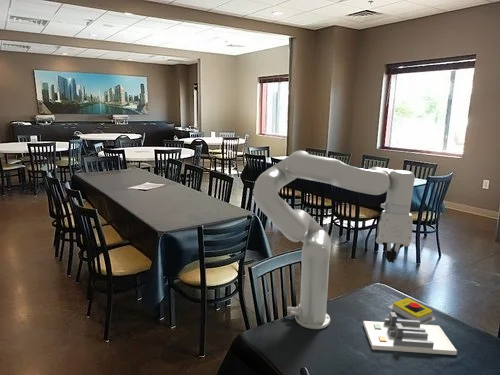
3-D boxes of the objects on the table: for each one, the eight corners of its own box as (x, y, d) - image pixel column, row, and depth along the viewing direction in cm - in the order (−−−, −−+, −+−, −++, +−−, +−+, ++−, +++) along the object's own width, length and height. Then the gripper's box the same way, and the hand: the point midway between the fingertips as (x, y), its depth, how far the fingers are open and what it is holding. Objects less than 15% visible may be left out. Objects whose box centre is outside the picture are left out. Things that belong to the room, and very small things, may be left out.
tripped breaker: (396, 342, 120) (398, 328, 119) (394, 336, 123) (395, 323, 121) (401, 342, 119) (403, 328, 118) (399, 337, 122) (400, 323, 121)
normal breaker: (391, 329, 126) (392, 316, 125) (388, 324, 129) (389, 311, 128) (395, 330, 126) (397, 316, 125) (393, 325, 129) (394, 312, 128)
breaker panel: (372, 349, 119) (372, 340, 118) (363, 324, 132) (363, 316, 132) (456, 355, 116) (457, 345, 116) (438, 329, 130) (439, 320, 129)
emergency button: (421, 316, 131) (387, 297, 144) (420, 327, 132) (386, 307, 145) (438, 309, 136) (403, 292, 148) (436, 320, 137) (402, 302, 149)
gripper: (376, 209, 117) (369, 263, 121) (425, 213, 115) (416, 267, 119) (371, 203, 124) (365, 254, 128) (417, 207, 122) (409, 258, 126)
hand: (390, 260), depth 123 cm, fingers closed
